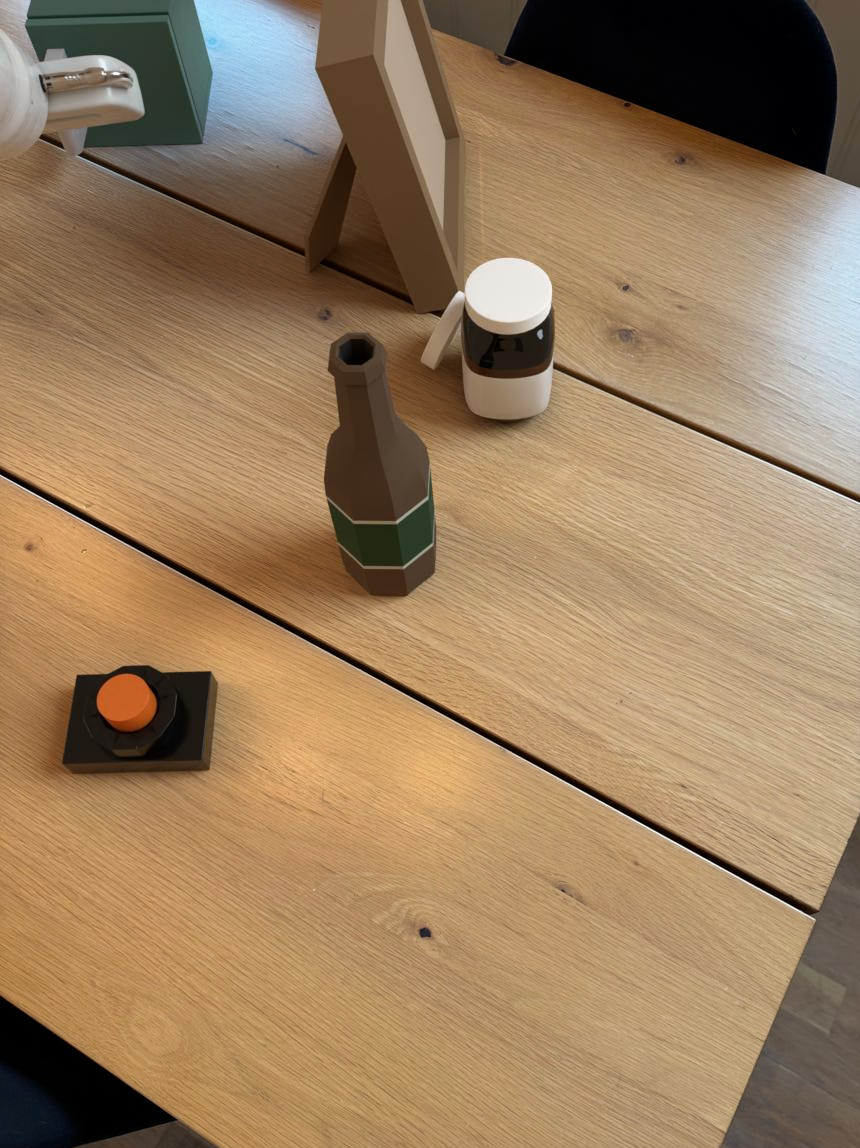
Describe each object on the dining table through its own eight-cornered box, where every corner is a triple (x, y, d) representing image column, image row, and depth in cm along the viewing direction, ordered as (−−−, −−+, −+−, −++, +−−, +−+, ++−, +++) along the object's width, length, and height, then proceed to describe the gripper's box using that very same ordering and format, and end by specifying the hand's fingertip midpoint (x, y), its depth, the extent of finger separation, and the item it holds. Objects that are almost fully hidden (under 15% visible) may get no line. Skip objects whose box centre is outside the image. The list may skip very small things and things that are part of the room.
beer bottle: (421, 506, 86) (395, 287, 65) (454, 582, 83) (439, 377, 62) (331, 536, 85) (274, 322, 64) (361, 614, 82) (312, 417, 61)
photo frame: (465, 150, 106) (457, -123, 83) (463, 313, 96) (453, 53, 74) (318, 152, 106) (270, -120, 84) (301, 315, 96) (242, 56, 74)
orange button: (103, 732, 74) (93, 721, 72) (110, 686, 76) (100, 674, 74) (154, 731, 74) (145, 720, 72) (160, 684, 76) (151, 672, 74)
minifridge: (204, 136, 107) (168, 11, 96) (77, 140, 107) (25, 15, 96) (213, 73, 112) (180, -54, 100) (91, 76, 112) (44, -50, 100)
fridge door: (196, 183, 104) (159, 62, 93) (65, 187, 104) (12, 67, 93) (203, 137, 107) (168, 14, 96) (76, 140, 107) (26, 19, 96)
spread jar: (553, 434, 90) (560, 337, 79) (420, 436, 90) (410, 340, 79) (548, 327, 95) (554, 224, 85) (423, 329, 95) (413, 226, 85)
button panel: (72, 774, 76) (51, 754, 73) (86, 686, 80) (67, 663, 76) (209, 770, 76) (195, 750, 73) (218, 682, 80) (205, 659, 76)
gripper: (113, 20, 75) (147, 63, 88) (-183, 61, 73) (-103, 99, 86) (136, 118, 77) (166, 146, 90) (-152, 159, 75) (-79, 182, 88)
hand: (32, 123), depth 88 cm, fingers open, 8 cm apart
